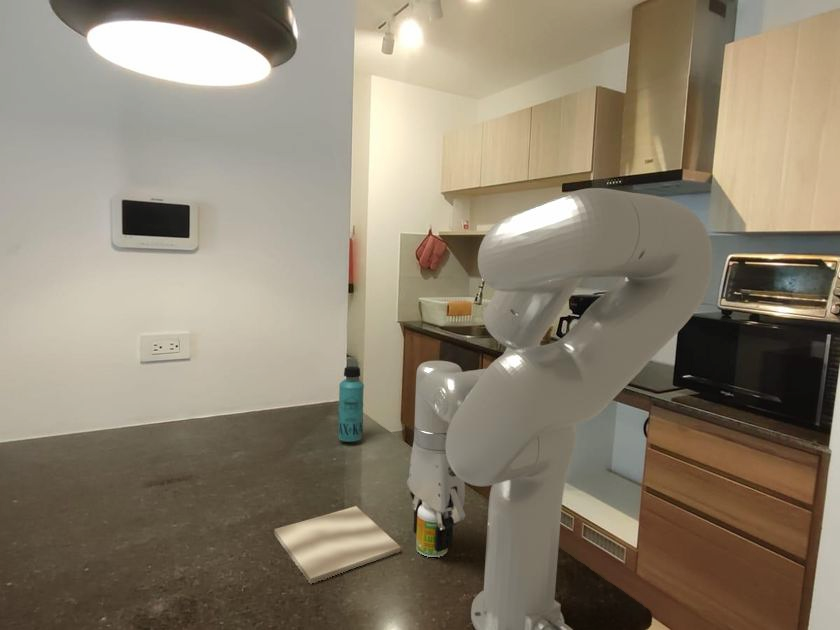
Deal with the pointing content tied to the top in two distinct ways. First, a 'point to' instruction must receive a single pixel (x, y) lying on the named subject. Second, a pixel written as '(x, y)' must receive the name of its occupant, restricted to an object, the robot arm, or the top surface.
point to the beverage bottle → (350, 406)
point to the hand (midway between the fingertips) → (432, 538)
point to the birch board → (335, 543)
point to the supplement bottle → (427, 531)
